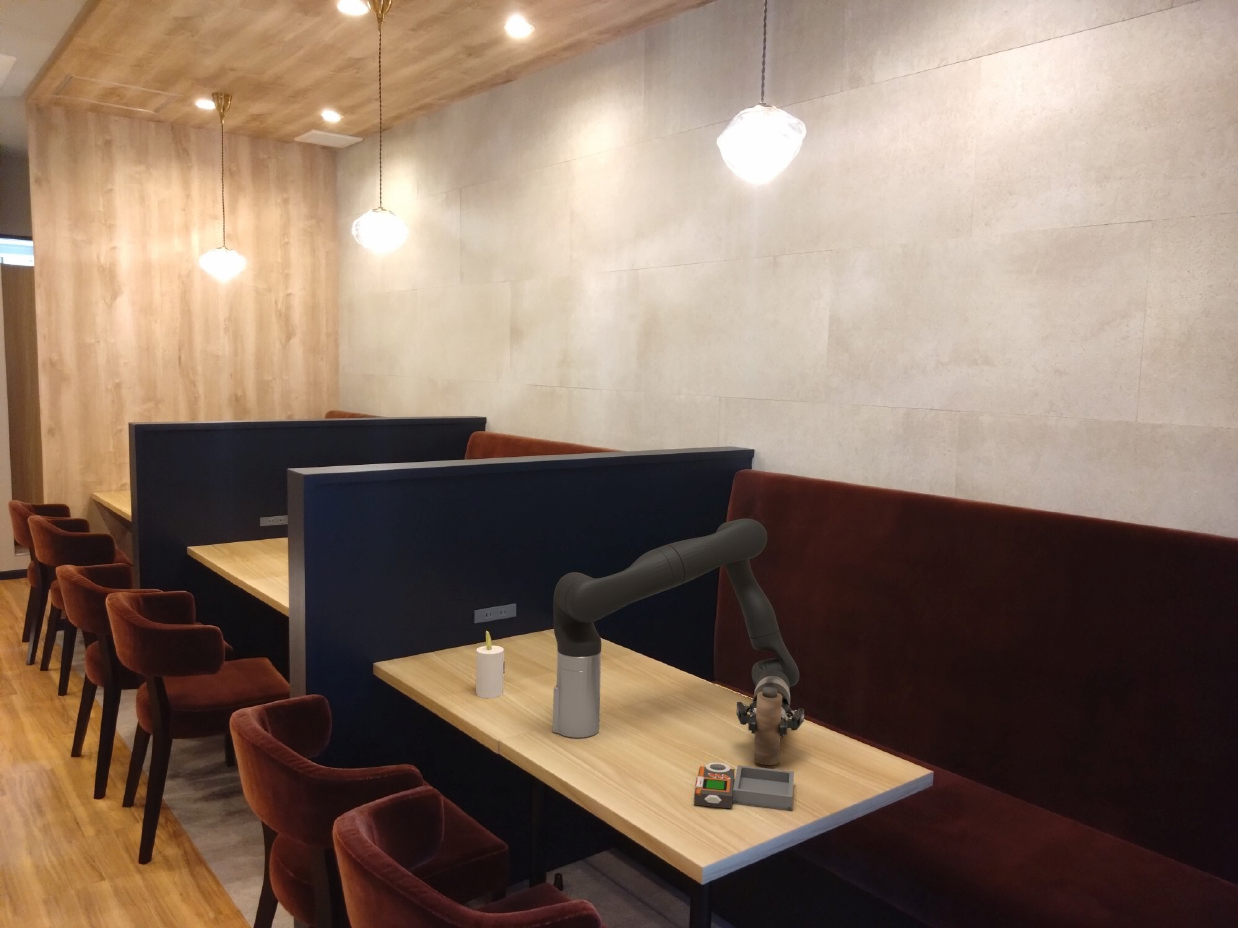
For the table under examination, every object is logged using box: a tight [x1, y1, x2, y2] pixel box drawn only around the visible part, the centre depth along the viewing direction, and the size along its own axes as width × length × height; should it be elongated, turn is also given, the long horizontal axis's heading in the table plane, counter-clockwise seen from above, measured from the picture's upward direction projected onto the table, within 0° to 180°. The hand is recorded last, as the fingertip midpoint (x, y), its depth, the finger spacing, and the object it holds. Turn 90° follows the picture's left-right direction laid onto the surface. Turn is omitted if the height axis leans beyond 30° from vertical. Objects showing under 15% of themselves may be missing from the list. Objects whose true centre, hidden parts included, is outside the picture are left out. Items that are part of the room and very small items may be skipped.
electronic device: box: [693, 761, 735, 809], centre depth 166 cm, size 7×3×15 cm
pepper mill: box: [753, 687, 782, 766], centre depth 176 cm, size 5×5×14 cm
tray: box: [732, 764, 795, 811], centre depth 165 cm, size 10×10×2 cm
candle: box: [475, 630, 506, 699], centre depth 210 cm, size 6×6×15 cm
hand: (767, 730), depth 174 cm, fingers closed on pepper mill, 4 cm apart
